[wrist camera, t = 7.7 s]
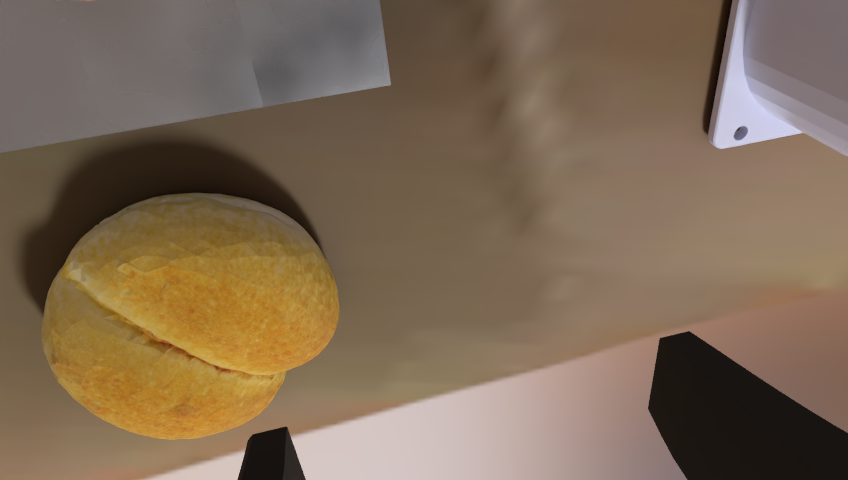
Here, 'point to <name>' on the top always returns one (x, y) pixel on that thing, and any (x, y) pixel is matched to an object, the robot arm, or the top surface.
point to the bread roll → (187, 313)
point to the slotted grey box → (174, 61)
